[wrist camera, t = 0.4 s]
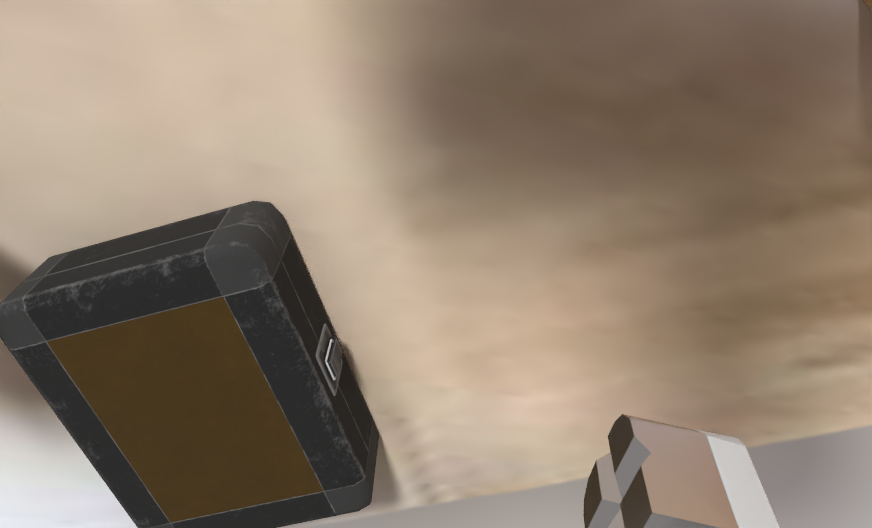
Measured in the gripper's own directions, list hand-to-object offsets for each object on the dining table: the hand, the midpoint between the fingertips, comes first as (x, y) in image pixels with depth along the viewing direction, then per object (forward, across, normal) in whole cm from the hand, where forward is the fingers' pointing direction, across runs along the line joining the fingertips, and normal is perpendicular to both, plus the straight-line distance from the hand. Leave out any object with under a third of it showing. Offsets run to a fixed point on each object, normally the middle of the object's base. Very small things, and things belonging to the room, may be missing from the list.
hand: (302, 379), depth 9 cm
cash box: (+37, +12, +32) cm, 51 cm away
